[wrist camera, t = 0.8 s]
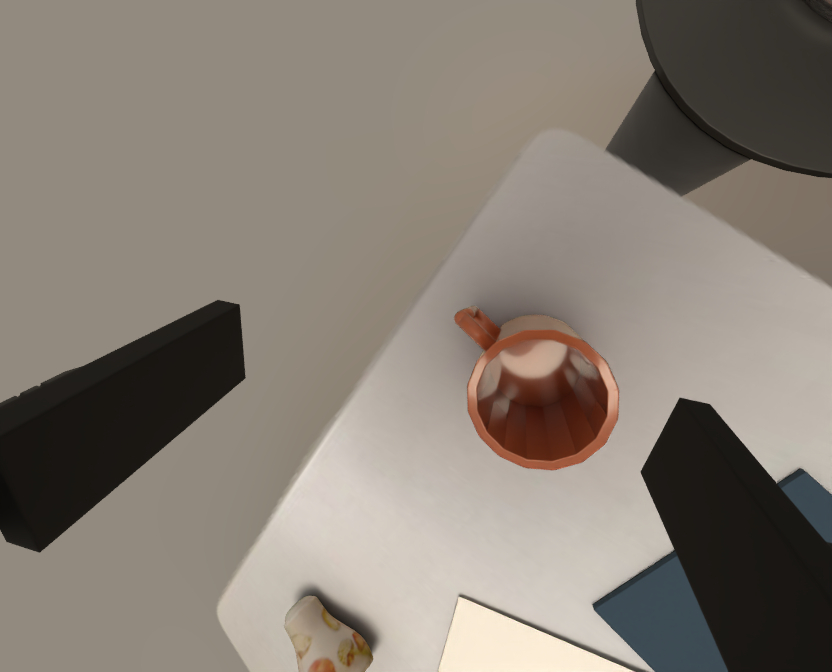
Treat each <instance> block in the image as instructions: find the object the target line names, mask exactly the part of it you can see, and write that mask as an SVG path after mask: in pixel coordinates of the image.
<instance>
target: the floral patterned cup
mask: <svg viewBox="0 0 832 672" xmlns="http://www.w3.org/2000/svg"><path fill="white" fill-rule="evenodd" d="M284 627H285V630H286V631H287V633H288V635H289V637H290V639H291V641H292V643H293V645H294V648H295V651H296V656H297V662H298V669H299V672H365V671H366V669H367V668H368V667H369V666H370V664H371V663H372V661H373V656H372V653H371V650H370V648H369V646H368V644H367V643H366V641H365V640H364V639H363V638H362V636H361V635H359V634H358V633H357V632H356V631H354V630H353V629H351V628H350V627H348V626H346V625H345V624H343V623H341V622H340V621H338V620H337V619H335V618H334V617H332V616H331V615H330V614H329V613H328V612H327V611H326V609H325V608H324V607H323V605H322V604H321V602H320V601H319V599H318V598H317V597H315V596H306V597H304V598H302V599H301V600H300V601H299V602H297V603H296V604H295V605H294V606H293V607H292V608H291V609H290V610H289V611H288V613H287V615H286V618H285V625H284Z"/></svg>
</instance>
